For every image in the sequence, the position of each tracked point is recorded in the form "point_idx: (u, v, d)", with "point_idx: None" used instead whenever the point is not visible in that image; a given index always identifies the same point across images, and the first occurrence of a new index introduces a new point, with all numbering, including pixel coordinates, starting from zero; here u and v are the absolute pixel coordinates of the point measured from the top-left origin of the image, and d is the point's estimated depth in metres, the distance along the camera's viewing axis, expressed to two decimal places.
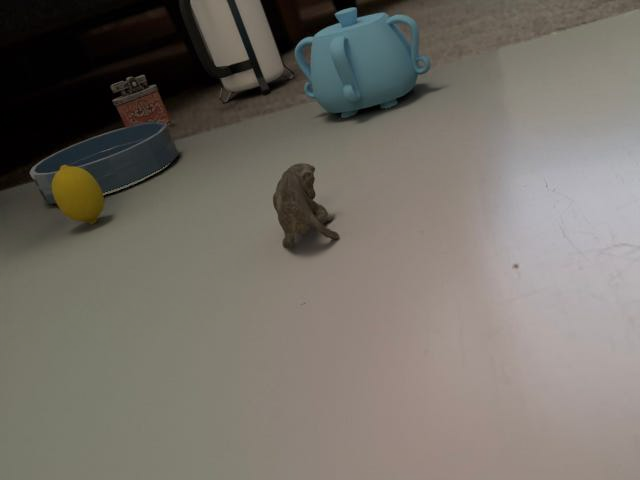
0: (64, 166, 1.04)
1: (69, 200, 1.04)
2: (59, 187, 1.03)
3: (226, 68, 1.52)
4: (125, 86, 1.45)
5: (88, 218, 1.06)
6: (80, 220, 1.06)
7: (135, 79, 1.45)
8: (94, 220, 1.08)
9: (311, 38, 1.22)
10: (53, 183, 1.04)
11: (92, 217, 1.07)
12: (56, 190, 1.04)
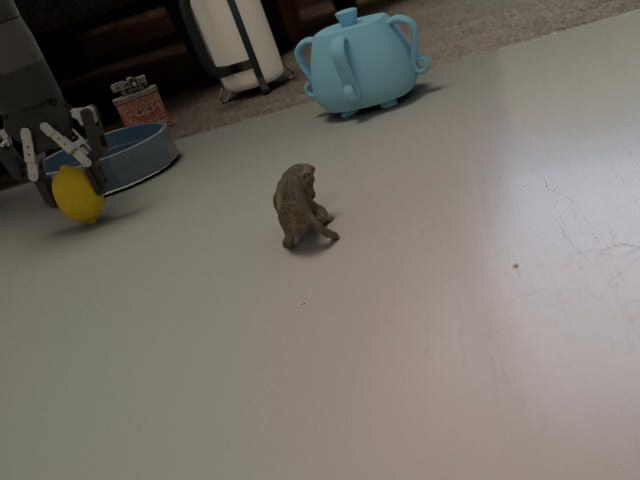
0: (64, 166, 1.04)
1: (69, 200, 1.04)
2: (60, 187, 1.03)
3: (226, 68, 1.52)
4: (125, 86, 1.45)
5: (88, 218, 1.06)
6: (80, 220, 1.06)
7: (135, 79, 1.45)
8: (94, 220, 1.08)
9: (311, 38, 1.22)
10: (53, 183, 1.04)
11: (92, 217, 1.07)
12: (56, 190, 1.04)
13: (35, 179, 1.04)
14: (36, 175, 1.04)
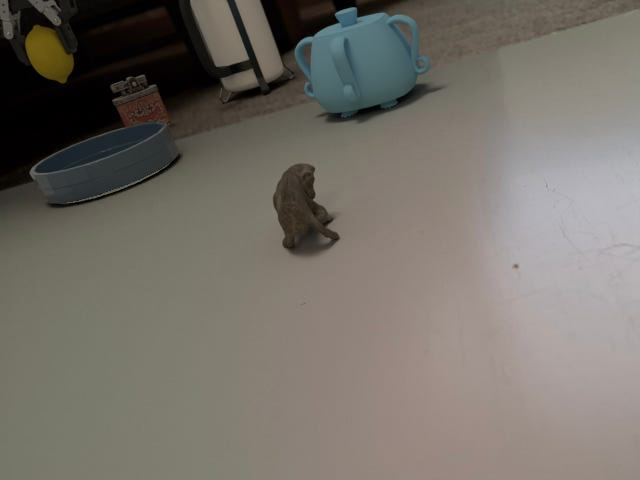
0: (37, 25, 1.15)
1: (40, 56, 1.15)
2: (32, 43, 1.14)
3: (226, 68, 1.52)
4: (125, 86, 1.45)
5: (58, 75, 1.17)
6: (51, 77, 1.17)
7: (135, 79, 1.45)
8: (64, 79, 1.19)
9: (311, 38, 1.22)
10: (26, 40, 1.15)
11: (62, 75, 1.18)
12: (29, 46, 1.15)
13: (10, 37, 1.15)
14: (11, 33, 1.15)
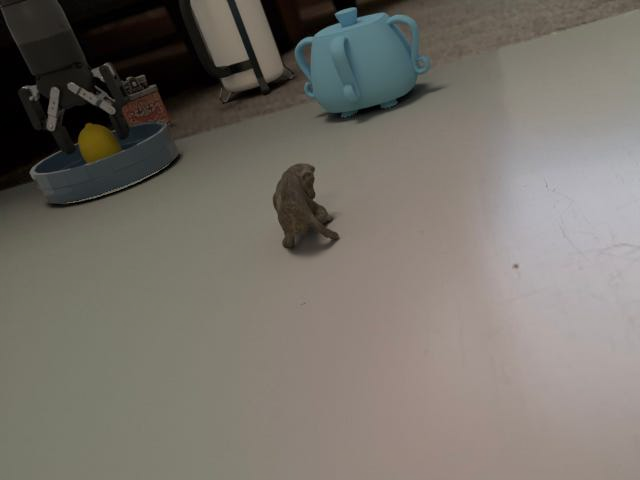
0: (89, 124, 1.23)
1: (93, 153, 1.23)
2: (85, 141, 1.23)
3: (226, 68, 1.52)
4: (125, 86, 1.45)
5: None
6: None
7: (135, 79, 1.45)
8: None
9: (311, 38, 1.22)
10: (79, 138, 1.23)
11: None
12: (82, 143, 1.23)
13: (52, 129, 1.23)
14: (54, 126, 1.22)
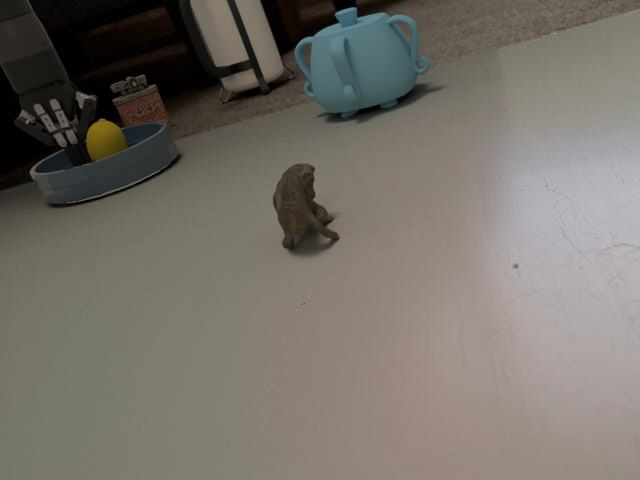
0: (103, 120, 1.23)
1: (100, 149, 1.23)
2: (95, 136, 1.22)
3: (226, 68, 1.52)
4: (125, 86, 1.45)
5: None
6: None
7: (135, 79, 1.45)
8: None
9: (311, 38, 1.22)
10: (90, 131, 1.23)
11: None
12: (91, 137, 1.23)
13: (64, 145, 1.25)
14: (64, 140, 1.25)
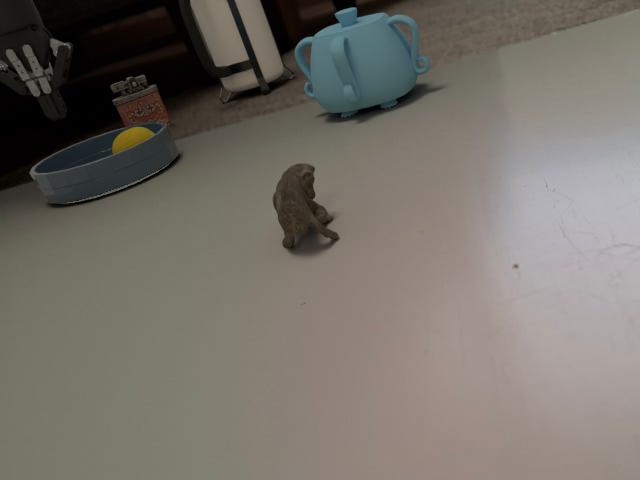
0: None
1: None
2: None
3: (226, 68, 1.52)
4: (125, 86, 1.45)
5: None
6: None
7: (135, 79, 1.45)
8: None
9: (311, 38, 1.22)
10: (138, 135, 1.23)
11: None
12: (135, 141, 1.23)
13: (37, 94, 1.21)
14: (37, 89, 1.20)
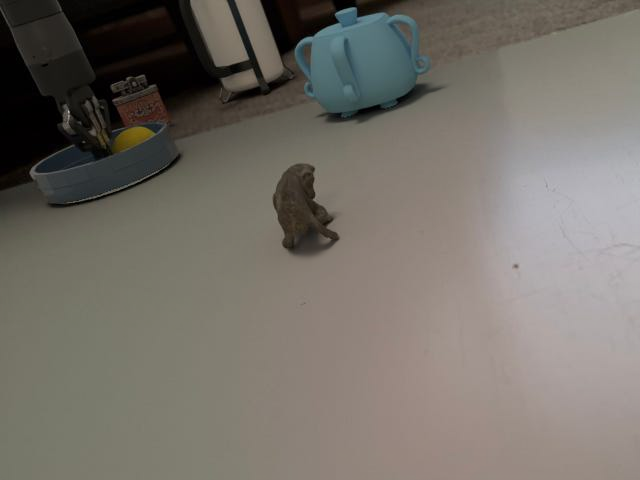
0: None
1: None
2: None
3: (226, 68, 1.52)
4: (125, 86, 1.45)
5: None
6: None
7: (135, 79, 1.45)
8: None
9: (311, 38, 1.22)
10: (138, 134, 1.23)
11: None
12: (135, 140, 1.23)
13: (105, 146, 1.21)
14: (103, 142, 1.20)
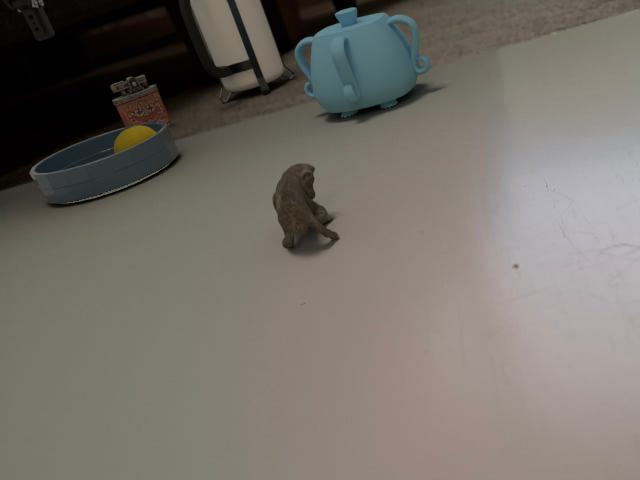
0: None
1: None
2: (138, 139, 1.23)
3: (226, 68, 1.52)
4: (125, 86, 1.45)
5: None
6: None
7: (135, 79, 1.45)
8: None
9: (311, 38, 1.22)
10: (139, 131, 1.24)
11: None
12: (135, 136, 1.23)
13: (37, 5, 1.11)
14: (35, 0, 1.11)
